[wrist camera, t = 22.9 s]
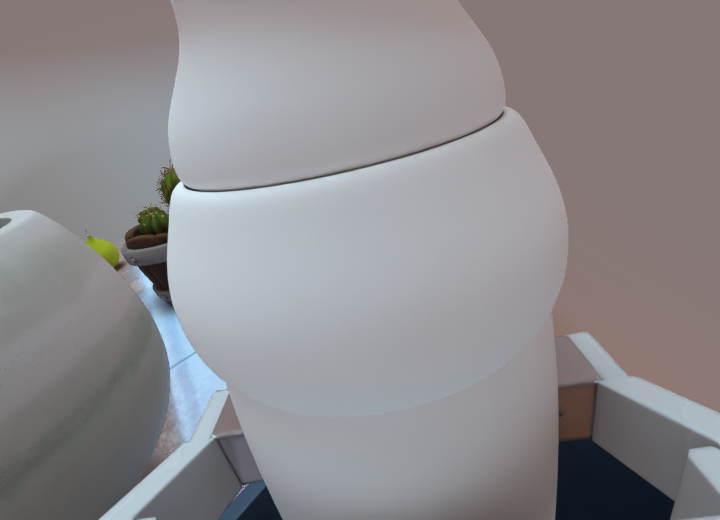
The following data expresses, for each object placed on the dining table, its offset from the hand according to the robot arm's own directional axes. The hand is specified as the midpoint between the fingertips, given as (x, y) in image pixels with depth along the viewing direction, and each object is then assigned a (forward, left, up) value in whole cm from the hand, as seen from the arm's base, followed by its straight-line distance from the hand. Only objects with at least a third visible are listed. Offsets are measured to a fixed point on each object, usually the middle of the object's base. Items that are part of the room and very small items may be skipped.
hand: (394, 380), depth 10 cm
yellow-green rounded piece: (+11, +84, -17) cm, 86 cm away
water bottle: (-1, -1, -13) cm, 13 cm away
